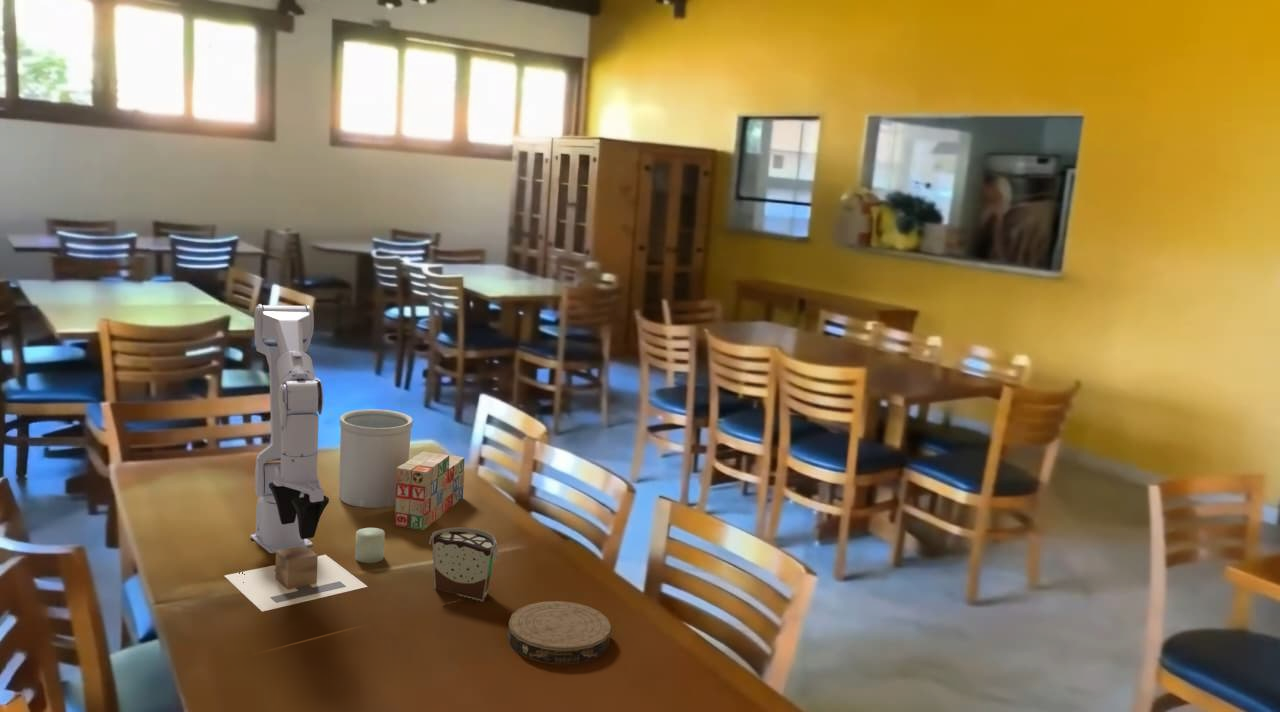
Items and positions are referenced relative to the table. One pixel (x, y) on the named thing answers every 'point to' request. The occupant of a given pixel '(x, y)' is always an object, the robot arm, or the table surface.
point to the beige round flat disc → (559, 632)
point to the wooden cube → (296, 567)
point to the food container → (463, 561)
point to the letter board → (274, 595)
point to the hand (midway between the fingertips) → (297, 530)
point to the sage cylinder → (369, 545)
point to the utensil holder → (372, 456)
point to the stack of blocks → (427, 488)
